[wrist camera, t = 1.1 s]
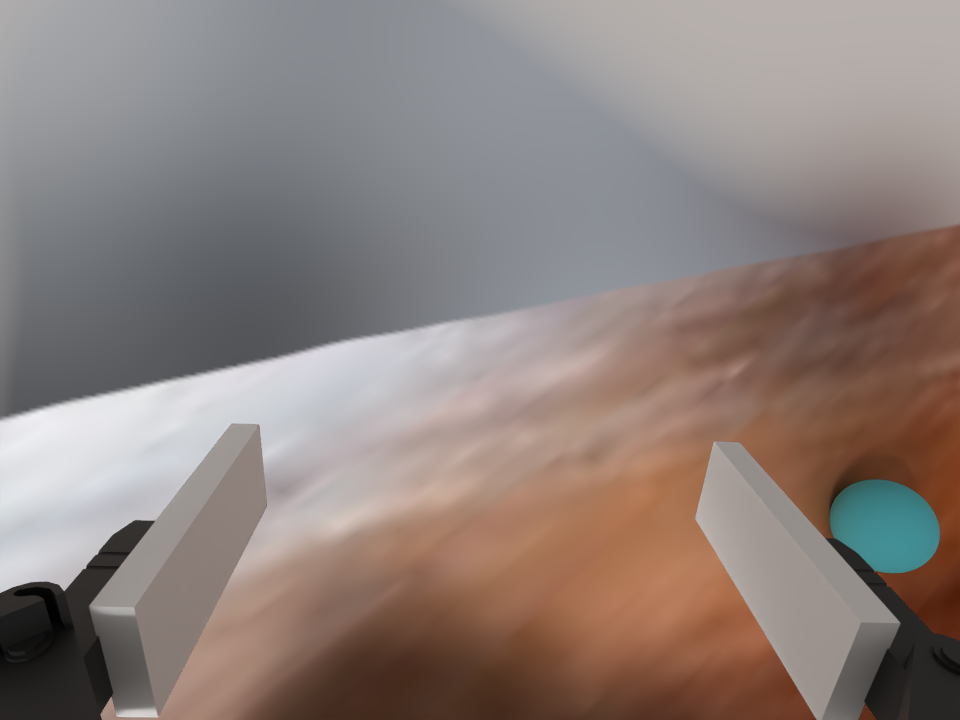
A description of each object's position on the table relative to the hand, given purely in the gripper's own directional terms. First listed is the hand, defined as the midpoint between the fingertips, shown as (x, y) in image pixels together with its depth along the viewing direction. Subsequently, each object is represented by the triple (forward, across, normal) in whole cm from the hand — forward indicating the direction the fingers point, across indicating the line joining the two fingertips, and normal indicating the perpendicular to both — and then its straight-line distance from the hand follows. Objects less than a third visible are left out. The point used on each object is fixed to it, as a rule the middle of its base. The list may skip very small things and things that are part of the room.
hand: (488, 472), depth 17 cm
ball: (+16, -28, +14) cm, 35 cm away
